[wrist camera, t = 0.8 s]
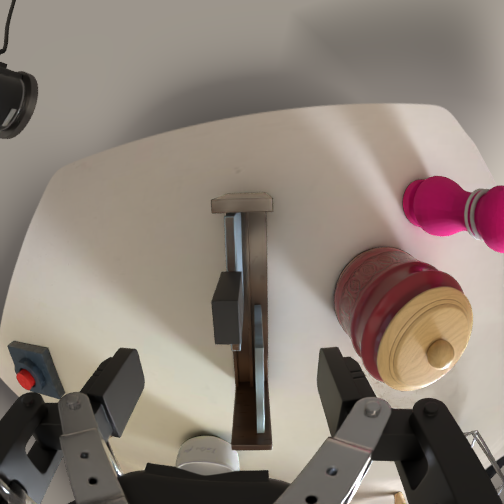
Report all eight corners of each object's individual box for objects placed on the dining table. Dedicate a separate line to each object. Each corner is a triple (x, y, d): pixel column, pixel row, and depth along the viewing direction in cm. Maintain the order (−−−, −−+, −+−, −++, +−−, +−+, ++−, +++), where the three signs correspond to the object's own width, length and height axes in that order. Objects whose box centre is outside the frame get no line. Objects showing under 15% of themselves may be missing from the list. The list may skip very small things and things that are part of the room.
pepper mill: (409, 166, 33) (526, 163, 13) (447, 190, 34) (559, 207, 14) (391, 216, 34) (502, 252, 15) (430, 238, 35) (537, 282, 16)
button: (18, 366, 37) (13, 371, 35) (31, 370, 37) (26, 375, 35) (25, 382, 38) (20, 387, 36) (38, 386, 38) (33, 391, 36)
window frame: (227, 193, 34) (211, 199, 21) (265, 192, 34) (272, 197, 21) (237, 380, 40) (231, 450, 27) (267, 380, 40) (272, 449, 27)
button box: (13, 340, 40) (1, 350, 36) (47, 347, 39) (35, 359, 36) (30, 383, 42) (20, 393, 38) (65, 392, 42) (55, 405, 38)
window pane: (229, 205, 33) (206, 228, 16) (244, 205, 33) (235, 227, 16) (234, 302, 35) (220, 395, 19) (247, 302, 35) (243, 395, 19)
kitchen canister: (342, 347, 39) (386, 437, 21) (320, 263, 36) (373, 330, 19) (421, 315, 38) (491, 379, 20) (409, 231, 35) (501, 267, 18)
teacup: (215, 419, 42) (210, 456, 34) (253, 451, 44) (253, 485, 36) (157, 441, 44) (147, 473, 36) (196, 470, 46) (190, 500, 38)
